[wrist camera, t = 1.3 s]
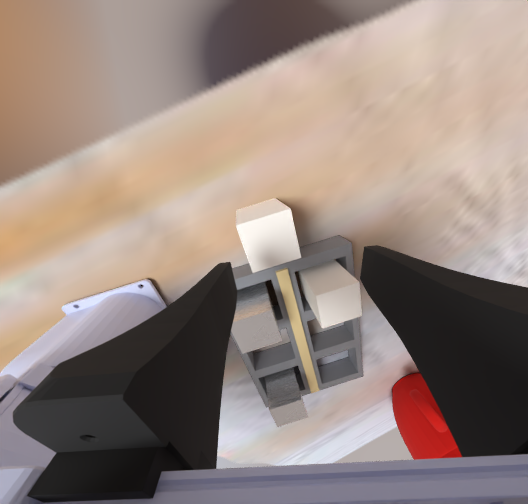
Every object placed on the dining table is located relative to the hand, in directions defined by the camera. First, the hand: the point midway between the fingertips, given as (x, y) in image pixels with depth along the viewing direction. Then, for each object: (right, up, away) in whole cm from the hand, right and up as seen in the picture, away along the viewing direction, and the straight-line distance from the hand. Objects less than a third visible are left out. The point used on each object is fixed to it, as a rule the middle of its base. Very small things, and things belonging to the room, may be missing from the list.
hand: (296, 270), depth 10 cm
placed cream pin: (+4, -2, +12) cm, 13 cm away
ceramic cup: (+24, -22, +24) cm, 40 cm away
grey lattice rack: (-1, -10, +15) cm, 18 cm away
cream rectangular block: (-2, +4, +9) cm, 10 cm away
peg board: (+2, -9, +15) cm, 18 cm away
